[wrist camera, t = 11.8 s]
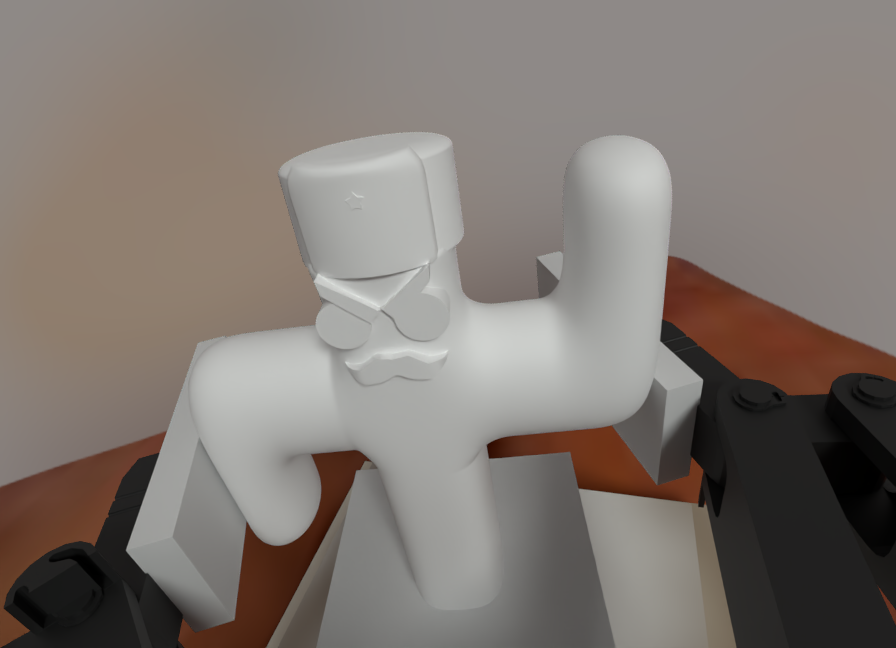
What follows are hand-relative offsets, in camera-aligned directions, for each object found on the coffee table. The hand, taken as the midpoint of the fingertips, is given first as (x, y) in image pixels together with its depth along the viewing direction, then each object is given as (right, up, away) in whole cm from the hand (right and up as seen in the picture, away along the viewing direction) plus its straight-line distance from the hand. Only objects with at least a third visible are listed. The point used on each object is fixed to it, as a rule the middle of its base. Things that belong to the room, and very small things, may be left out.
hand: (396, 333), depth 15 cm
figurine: (+2, -10, +1) cm, 10 cm away
